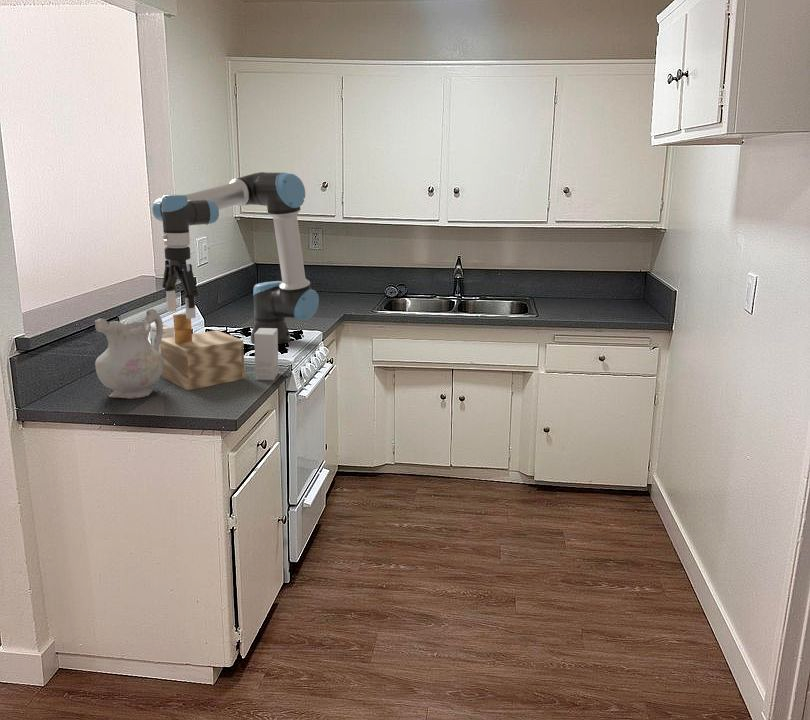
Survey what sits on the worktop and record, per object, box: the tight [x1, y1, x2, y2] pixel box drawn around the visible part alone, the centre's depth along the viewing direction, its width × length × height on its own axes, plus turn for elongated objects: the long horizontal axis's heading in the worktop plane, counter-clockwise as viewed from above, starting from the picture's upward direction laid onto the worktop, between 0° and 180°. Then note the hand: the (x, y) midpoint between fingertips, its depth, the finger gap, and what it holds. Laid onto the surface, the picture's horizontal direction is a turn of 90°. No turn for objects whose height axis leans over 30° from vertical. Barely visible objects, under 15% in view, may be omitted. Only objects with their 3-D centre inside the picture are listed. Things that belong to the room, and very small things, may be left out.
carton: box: [160, 342, 246, 391], centre depth 246 cm, size 20×18×12 cm
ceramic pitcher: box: [94, 308, 164, 400], centre depth 229 cm, size 22×20×25 cm
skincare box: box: [253, 328, 279, 381], centre depth 247 cm, size 8×7×16 cm
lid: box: [161, 312, 244, 353], centre depth 243 cm, size 20×18×10 cm
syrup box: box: [149, 324, 175, 354], centre depth 256 cm, size 6×6×14 cm
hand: (181, 314), depth 237 cm, fingers open, 13 cm apart
